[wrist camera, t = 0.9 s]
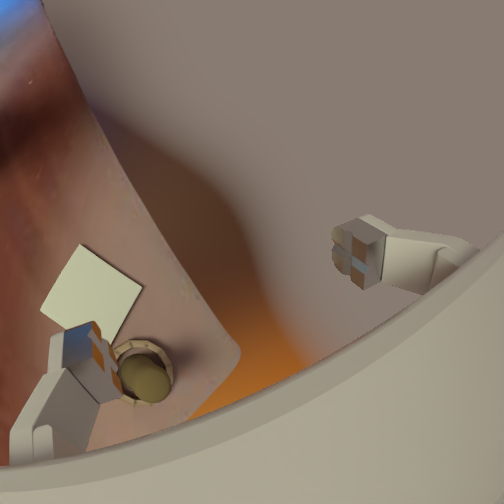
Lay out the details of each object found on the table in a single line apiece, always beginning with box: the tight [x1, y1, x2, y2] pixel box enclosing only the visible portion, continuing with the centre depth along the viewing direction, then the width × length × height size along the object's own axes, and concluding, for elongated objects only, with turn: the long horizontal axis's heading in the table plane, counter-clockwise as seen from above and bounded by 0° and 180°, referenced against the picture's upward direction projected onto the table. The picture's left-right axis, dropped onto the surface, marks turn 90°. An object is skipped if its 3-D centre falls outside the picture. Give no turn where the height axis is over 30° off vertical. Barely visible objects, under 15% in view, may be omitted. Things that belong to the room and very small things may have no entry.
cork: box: [120, 354, 171, 403], centre depth 38 cm, size 6×6×11 cm
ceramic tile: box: [40, 244, 142, 345], centre depth 41 cm, size 12×12×1 cm
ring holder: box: [113, 340, 173, 407], centre depth 42 cm, size 10×10×2 cm
